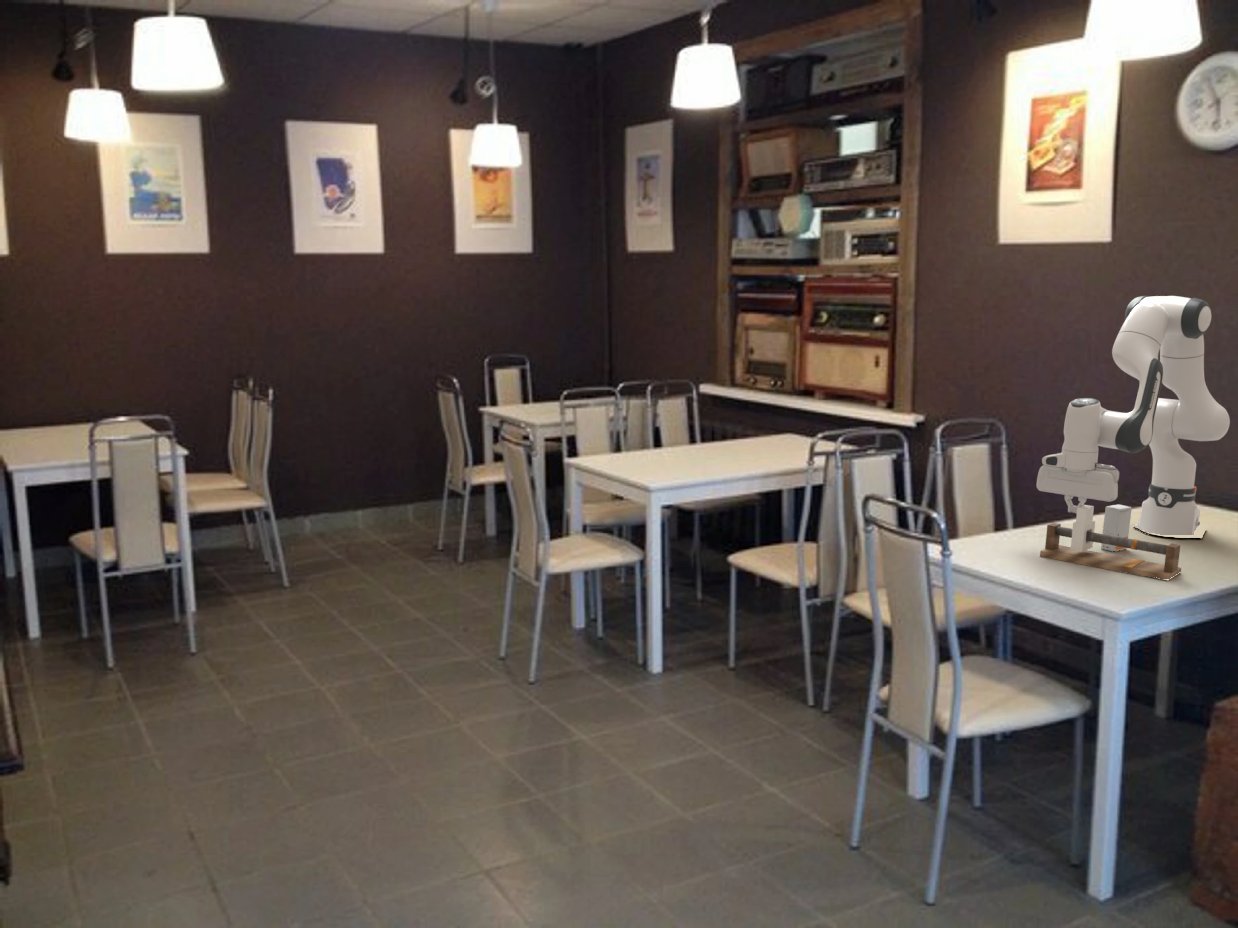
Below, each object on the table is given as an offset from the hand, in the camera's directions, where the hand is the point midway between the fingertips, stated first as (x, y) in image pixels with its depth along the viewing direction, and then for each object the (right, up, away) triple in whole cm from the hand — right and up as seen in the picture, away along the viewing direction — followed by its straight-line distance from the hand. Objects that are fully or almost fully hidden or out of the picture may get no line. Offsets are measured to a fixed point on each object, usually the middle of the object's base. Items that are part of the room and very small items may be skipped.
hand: (1074, 512), depth 296 cm
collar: (+2, -9, 0) cm, 10 cm away
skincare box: (+16, -11, +12) cm, 22 cm away
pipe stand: (+7, -13, -5) cm, 16 cm away
